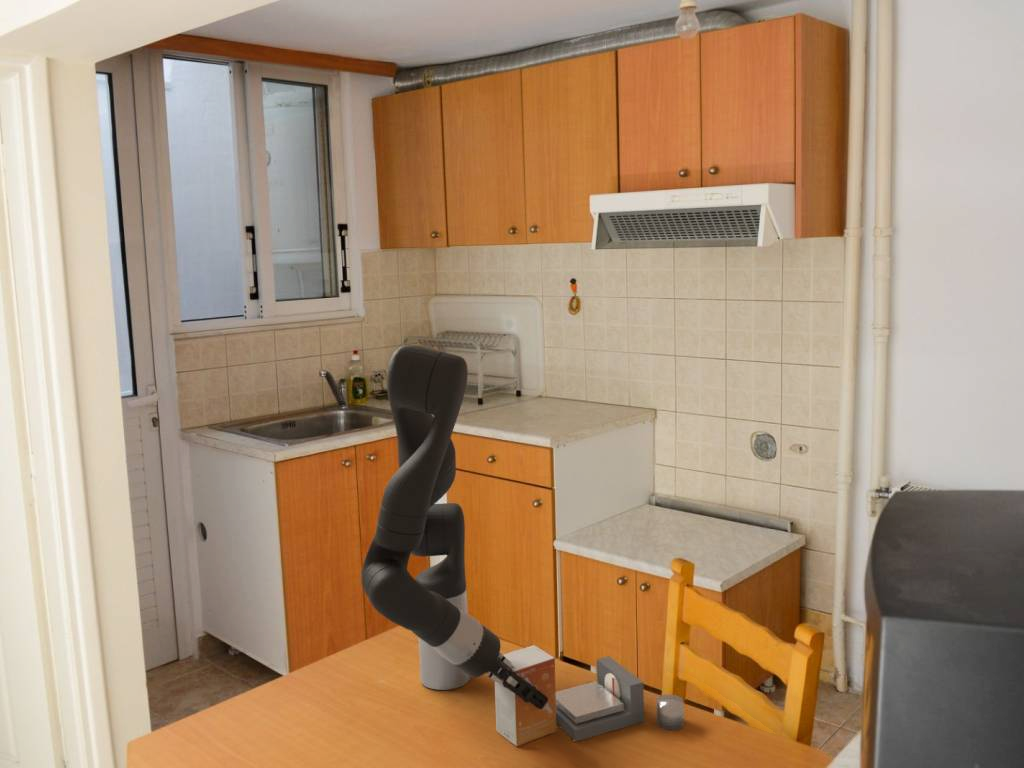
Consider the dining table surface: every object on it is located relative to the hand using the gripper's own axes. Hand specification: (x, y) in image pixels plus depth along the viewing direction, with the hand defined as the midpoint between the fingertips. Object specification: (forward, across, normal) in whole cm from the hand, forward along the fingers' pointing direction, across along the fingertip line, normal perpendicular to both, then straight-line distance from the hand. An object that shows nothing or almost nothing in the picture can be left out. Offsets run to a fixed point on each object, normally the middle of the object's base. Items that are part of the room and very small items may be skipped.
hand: (533, 693), depth 154 cm
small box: (+3, 0, +6) cm, 7 cm away
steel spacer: (+19, -9, -10) cm, 23 cm away
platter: (+9, -1, -4) cm, 10 cm away
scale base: (+12, -1, -3) cm, 12 cm away
